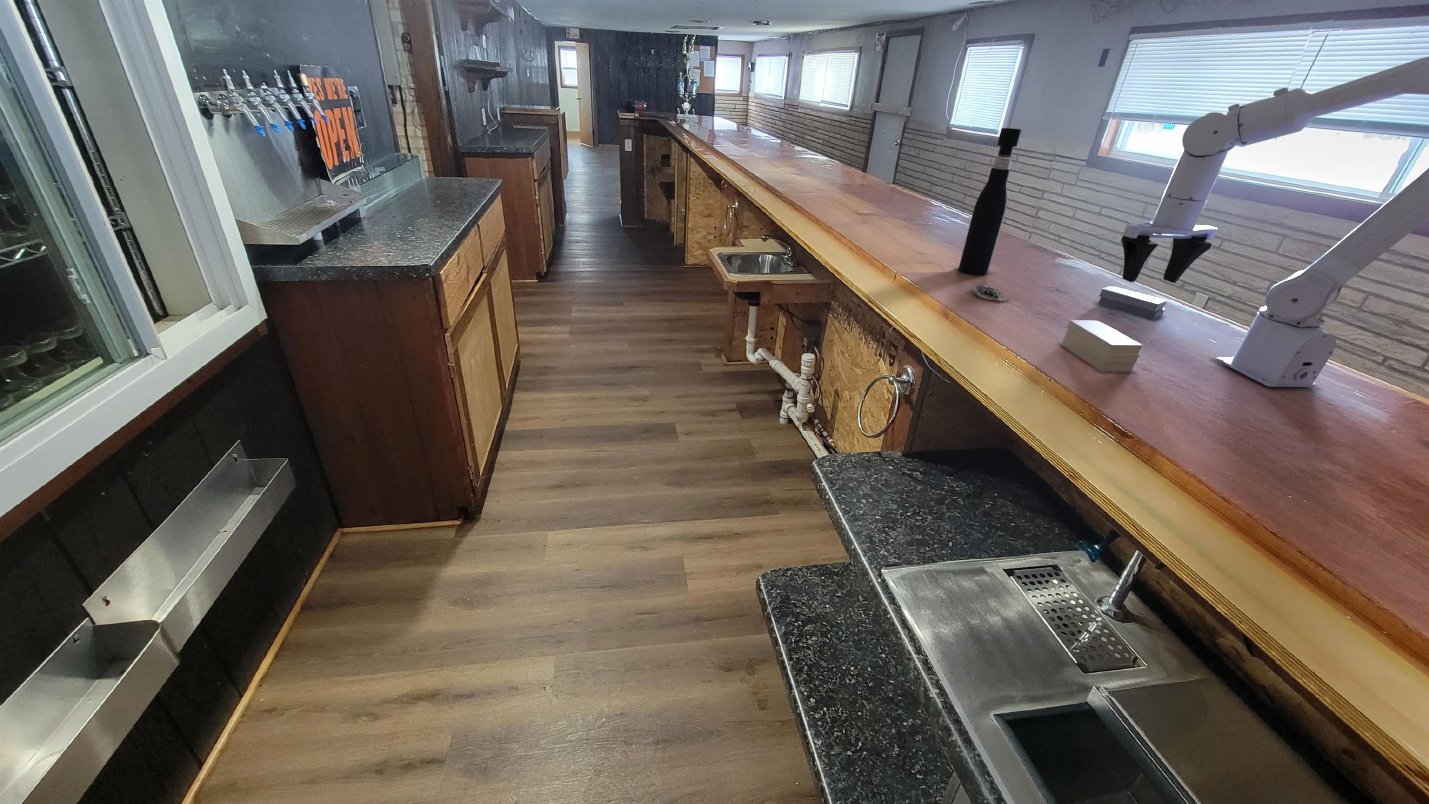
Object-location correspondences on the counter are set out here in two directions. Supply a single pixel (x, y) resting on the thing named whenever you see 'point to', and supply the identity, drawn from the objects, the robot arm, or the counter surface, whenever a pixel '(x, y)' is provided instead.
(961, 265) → the wine bottle
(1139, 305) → the grey books
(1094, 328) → the white book
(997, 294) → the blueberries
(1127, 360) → the cream rectangular block
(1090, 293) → the counter surface
